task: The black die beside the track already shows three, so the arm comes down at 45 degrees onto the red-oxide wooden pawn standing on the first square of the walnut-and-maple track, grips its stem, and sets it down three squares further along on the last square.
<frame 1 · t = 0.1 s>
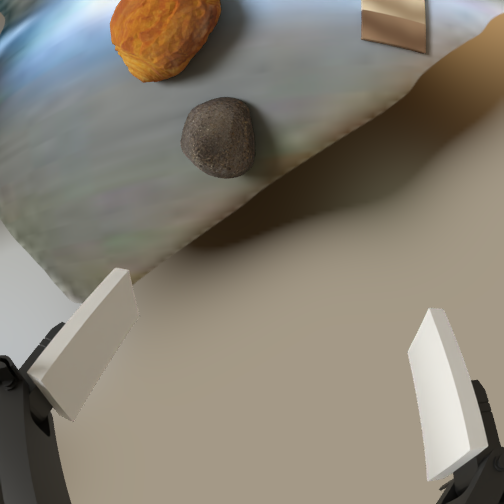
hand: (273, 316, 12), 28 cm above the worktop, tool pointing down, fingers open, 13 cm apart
stone: (226, 135, 36), on the worktop
croissant: (169, 25, 30), on the worktop
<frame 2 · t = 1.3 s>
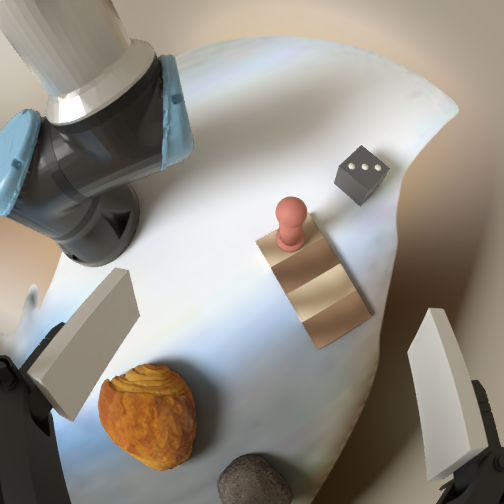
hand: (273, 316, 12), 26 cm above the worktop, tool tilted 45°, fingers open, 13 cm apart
die: (357, 184, 41), on the worktop
track: (313, 279, 38), on the worktop
pawn: (290, 239, 39), point 1 cm above the worktop, touching track
stone: (256, 481, 32), on the worktop
croissant: (153, 411, 36), on the worktop
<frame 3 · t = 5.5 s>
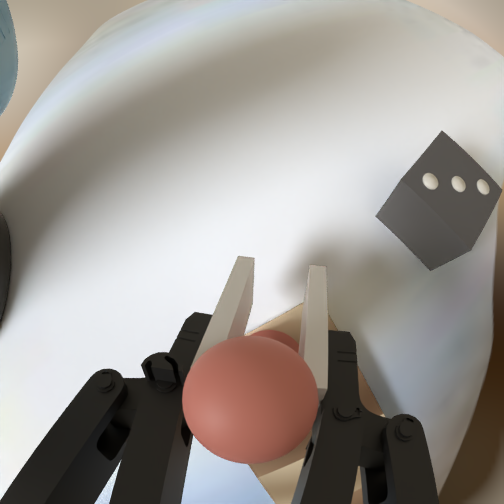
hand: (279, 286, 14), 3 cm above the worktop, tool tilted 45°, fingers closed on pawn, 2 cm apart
die: (423, 218, 17), on the worktop
track: (319, 444, 15), on the worktop
pawn: (269, 362, 15), point 1 cm above the worktop, touching gripper, track
when the fingers open (4 cm above the worktop, at t = 10.4 s): pawn drops 1 cm, resting on track.
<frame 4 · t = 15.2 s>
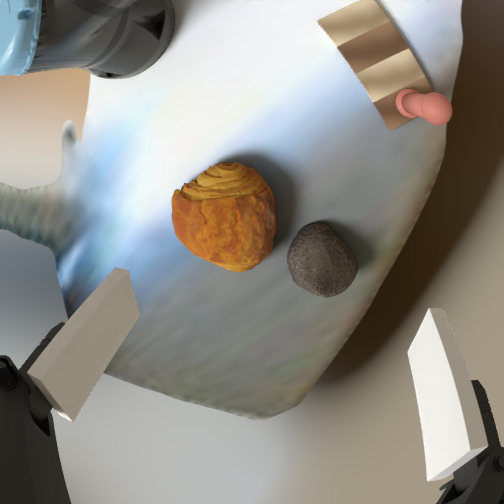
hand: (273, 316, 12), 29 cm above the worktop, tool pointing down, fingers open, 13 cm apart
track: (381, 60, 28), on the worktop
pawn: (408, 102, 29), point 1 cm above the worktop, touching track
stone: (322, 252, 43), on the worktop
croissant: (228, 211, 43), on the worktop
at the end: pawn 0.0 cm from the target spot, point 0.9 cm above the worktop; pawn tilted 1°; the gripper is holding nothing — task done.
